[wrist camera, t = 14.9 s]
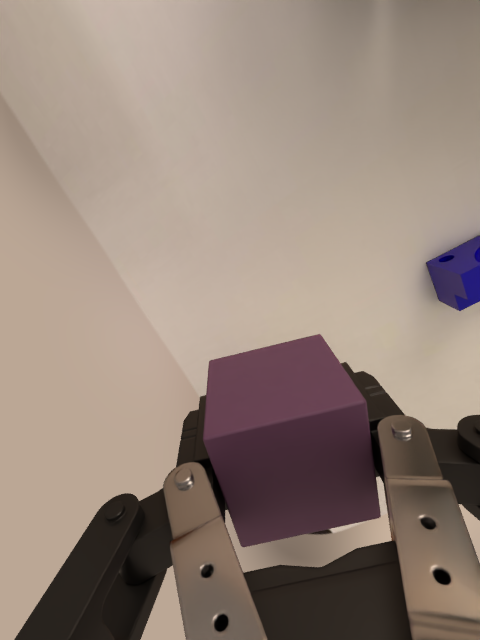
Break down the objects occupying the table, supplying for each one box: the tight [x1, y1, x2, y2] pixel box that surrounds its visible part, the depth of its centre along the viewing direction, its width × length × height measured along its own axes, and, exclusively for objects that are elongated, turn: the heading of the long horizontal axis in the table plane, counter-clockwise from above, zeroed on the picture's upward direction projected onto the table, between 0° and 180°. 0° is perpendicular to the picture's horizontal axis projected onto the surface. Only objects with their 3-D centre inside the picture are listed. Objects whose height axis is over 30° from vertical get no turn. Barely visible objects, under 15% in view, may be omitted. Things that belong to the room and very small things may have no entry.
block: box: [203, 334, 381, 547], centre depth 12 cm, size 4×4×4 cm
